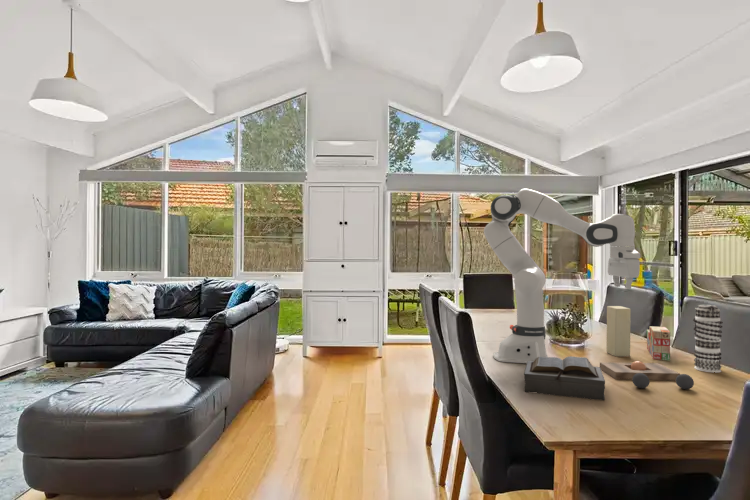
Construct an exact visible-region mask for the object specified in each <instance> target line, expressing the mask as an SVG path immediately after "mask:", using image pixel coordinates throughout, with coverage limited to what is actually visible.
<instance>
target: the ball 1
mask: <svg viewBox="0 0 750 500" xmlns="http://www.w3.org/2000/svg"><path fill="white" fill-rule="evenodd" d="M631 380H632V383H633V385H634V386H635V387H636V388H639V389H646V388H647V387H648V386H650V382H651V380H649V378H648V377H647V376H646V375H645V374H643V373H637V374H635V375H634V376H633V378H632V379H631Z"/></svg>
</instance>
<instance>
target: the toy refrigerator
mask: <svg viewBox="0 0 750 500" xmlns="http://www.w3.org/2000/svg"><path fill="white" fill-rule="evenodd" d="M631 311H632V310H631V308H629V307H625V306H622V305H607V306H606V353H608V354H609V355H612V356H614V357H631V322H632V321H631V320H632V319H631V315H632V314H631Z"/></svg>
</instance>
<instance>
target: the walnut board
mask: <svg viewBox="0 0 750 500" xmlns="http://www.w3.org/2000/svg"><path fill="white" fill-rule="evenodd" d="M632 363H633V362H611V361H610V362H609V361H608V362H607V361H606V362H605V361H604V362H603V361H602V362H600V361H599V367H600V369H601V371H603V372H604V373H606V374H607V375H609V376H610V377H612V378H613V379H615V380H632V378H633V376H634V375H635V374H637V373H643V374H645V375H646V376H647V377H648V378H649V381H676V378H677V376H678V375H680V374H681V373H680V372H678V371H675V370H673V369H671V368H669V367H667V366H665V365H663V364H661V363H657V362H653V363H651V362H645V363H644V362H643V363H644V364H645V366H646V370H632V369H631V364H632Z"/></svg>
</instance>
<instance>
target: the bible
mask: <svg viewBox="0 0 750 500" xmlns="http://www.w3.org/2000/svg"><path fill="white" fill-rule="evenodd" d="M602 371H603V370H601V369H600V366H594V365H593V364H592V363H591V362H590V360H589V359H588V357H583V356H581V357H580V356H572V355H571V356H567V357H564V358H563V359H561V358H559V357H555V356H554V357H553V356H551V357H549V356H548V357H538V358H536V359H535V361H527V363H526V365H525V369H524V372H523V375H524V383H525V384H524V388H523V389H524V391H525V392H524V393H529V392H537V393H536V394H540V393H543V394H542V395H549V394H550V395H549V396H559V397H568V398H578V399H587V400H595V401H596V400H597V401H604V400H605V398H606V395H605V391H606V379H605V377H604V375H603V372H602Z"/></svg>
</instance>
